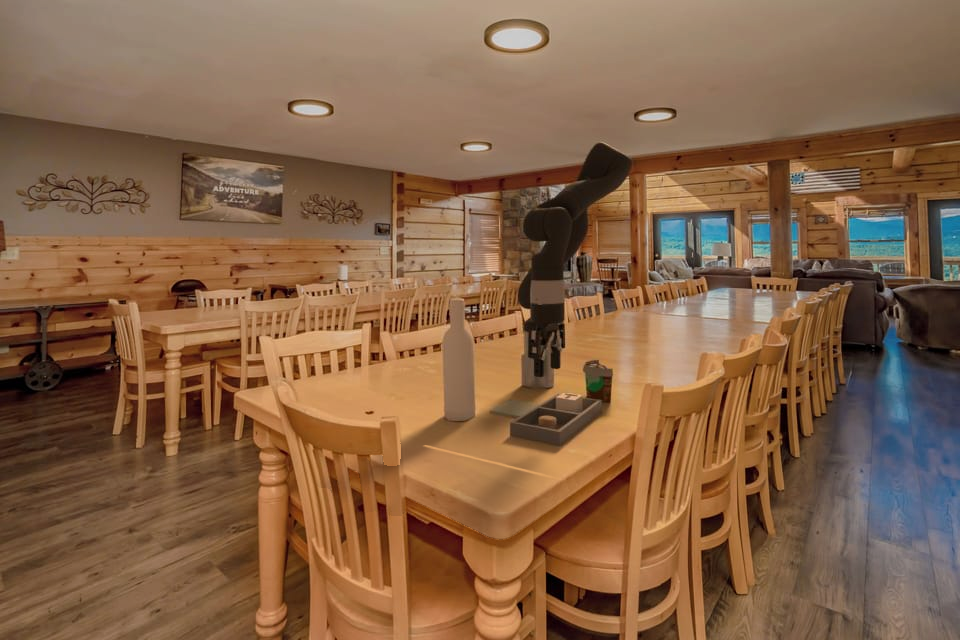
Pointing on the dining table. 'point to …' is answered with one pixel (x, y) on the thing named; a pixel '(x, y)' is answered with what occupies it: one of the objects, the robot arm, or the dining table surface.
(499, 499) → the dining table surface
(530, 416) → the organiser tray
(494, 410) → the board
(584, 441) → the dining table surface
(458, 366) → the bottle
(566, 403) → the letter cube
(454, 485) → the dining table surface
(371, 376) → the dining table surface
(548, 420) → the tan oval stone
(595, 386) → the food container
